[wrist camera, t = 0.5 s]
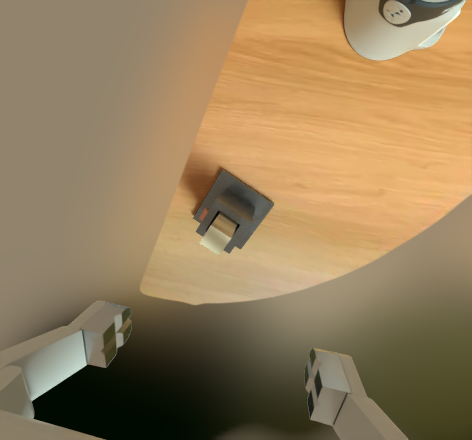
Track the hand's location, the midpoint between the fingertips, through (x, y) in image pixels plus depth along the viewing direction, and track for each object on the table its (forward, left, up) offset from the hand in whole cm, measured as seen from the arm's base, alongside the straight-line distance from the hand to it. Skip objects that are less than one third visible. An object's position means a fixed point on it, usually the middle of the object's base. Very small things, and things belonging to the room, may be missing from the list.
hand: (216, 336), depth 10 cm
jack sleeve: (+10, -2, -43) cm, 44 cm away
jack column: (+10, -2, -41) cm, 43 cm away
